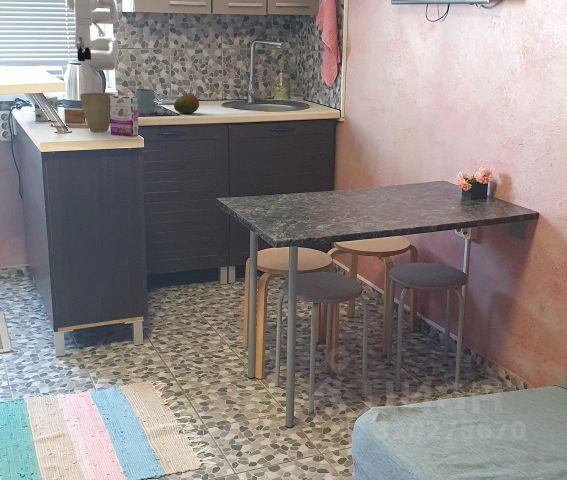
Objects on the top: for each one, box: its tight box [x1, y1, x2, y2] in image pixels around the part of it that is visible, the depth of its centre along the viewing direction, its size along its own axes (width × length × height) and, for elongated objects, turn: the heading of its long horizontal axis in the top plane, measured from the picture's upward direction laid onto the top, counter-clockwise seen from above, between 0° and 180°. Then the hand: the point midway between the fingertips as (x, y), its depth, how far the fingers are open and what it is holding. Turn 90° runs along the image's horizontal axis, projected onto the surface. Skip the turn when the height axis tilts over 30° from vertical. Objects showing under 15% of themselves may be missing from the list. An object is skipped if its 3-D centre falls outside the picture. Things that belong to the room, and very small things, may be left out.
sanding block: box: [63, 107, 86, 123], centre depth 364 cm, size 5×8×6 cm, turn 87°
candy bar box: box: [109, 94, 139, 137], centre depth 340 cm, size 11×5×16 cm, turn 69°
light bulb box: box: [34, 95, 59, 122], centre depth 378 cm, size 11×7×11 cm, turn 168°
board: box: [50, 119, 89, 129], centre depth 364 cm, size 13×18×1 cm
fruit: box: [173, 93, 200, 115], centre depth 421 cm, size 12×13×10 cm
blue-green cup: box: [134, 88, 156, 115], centre depth 417 cm, size 10×10×12 cm
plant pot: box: [79, 92, 116, 133], centre depth 348 cm, size 15×15×16 cm
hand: (84, 60), depth 374 cm, fingers open, 9 cm apart
